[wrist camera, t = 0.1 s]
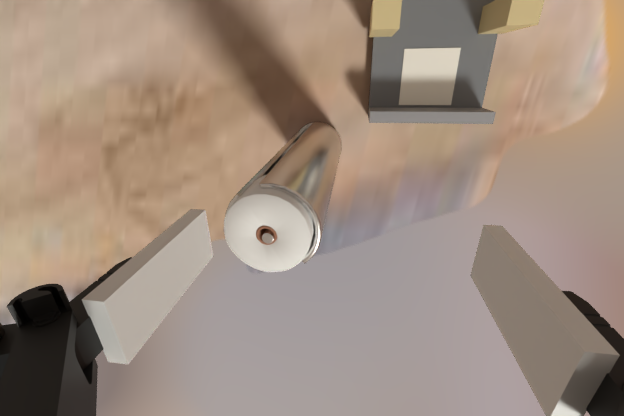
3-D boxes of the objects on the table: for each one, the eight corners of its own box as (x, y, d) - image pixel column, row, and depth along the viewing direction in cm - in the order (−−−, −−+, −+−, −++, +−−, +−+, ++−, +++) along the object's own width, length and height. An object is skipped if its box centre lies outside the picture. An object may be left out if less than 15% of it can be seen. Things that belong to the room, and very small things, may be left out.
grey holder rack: (376, -90, 30) (381, -142, 23) (527, -103, 28) (587, -164, 21) (364, 116, 38) (365, 127, 31) (480, 116, 37) (510, 128, 29)
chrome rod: (293, 166, 43) (220, 273, 20) (295, 119, 40) (213, 183, 17) (339, 171, 42) (315, 287, 20) (344, 123, 39) (323, 196, 17)
